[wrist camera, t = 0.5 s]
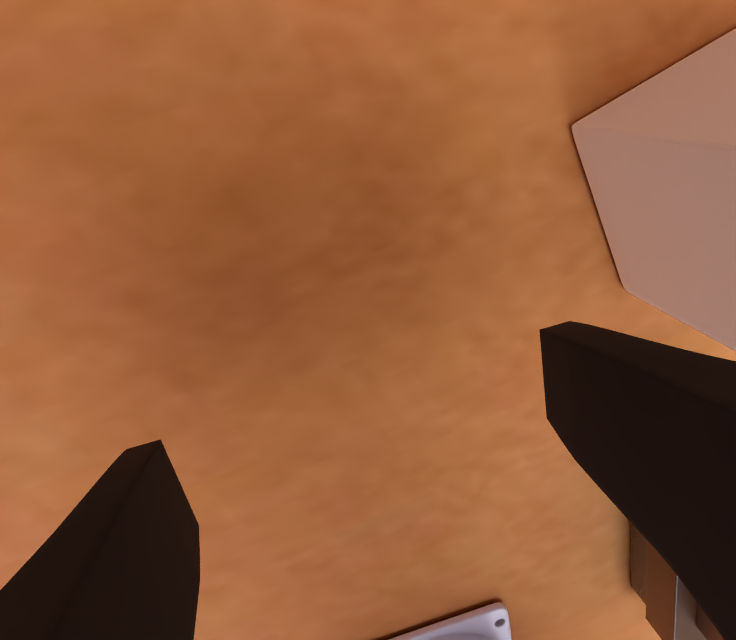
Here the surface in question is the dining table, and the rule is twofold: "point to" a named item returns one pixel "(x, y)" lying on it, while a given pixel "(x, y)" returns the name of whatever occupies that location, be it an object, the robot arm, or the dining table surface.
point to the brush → (666, 596)
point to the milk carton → (672, 187)
